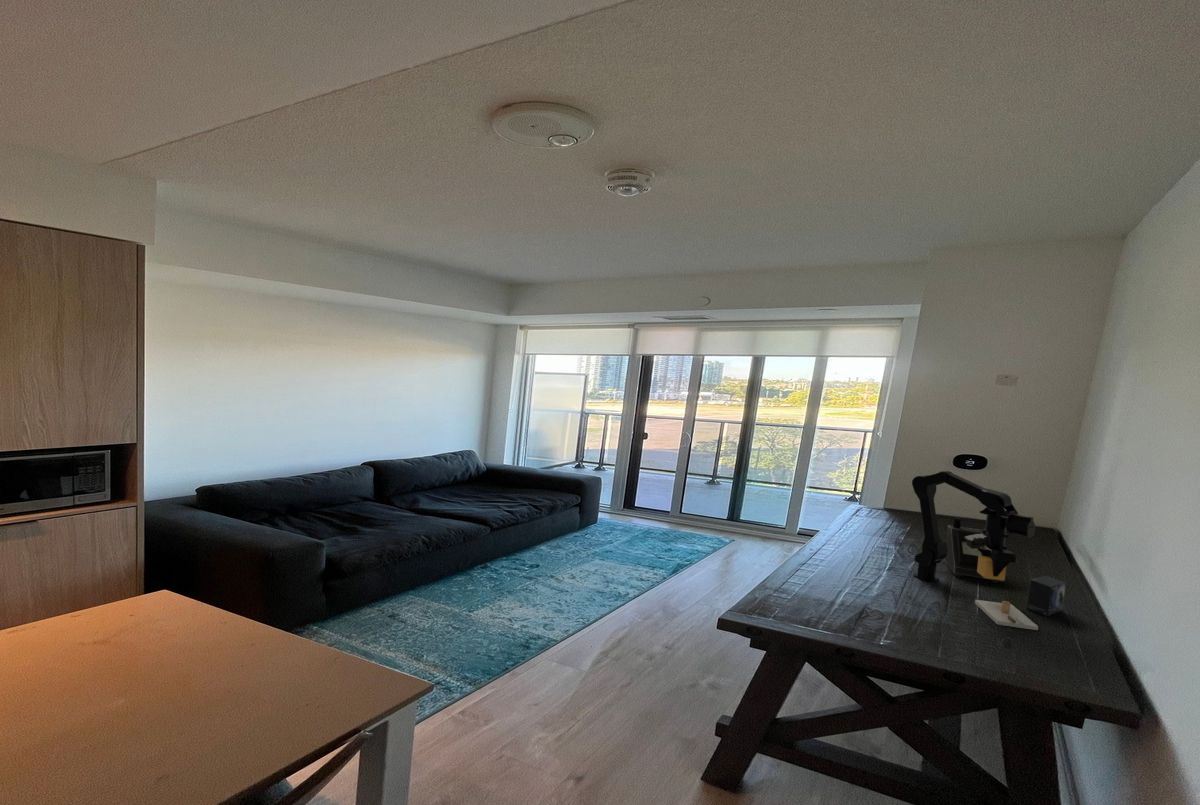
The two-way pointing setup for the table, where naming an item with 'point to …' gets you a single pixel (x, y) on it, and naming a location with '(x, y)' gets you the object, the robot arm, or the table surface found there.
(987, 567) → the mustard yellow cube
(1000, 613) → the plate
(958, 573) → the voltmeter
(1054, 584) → the small box
